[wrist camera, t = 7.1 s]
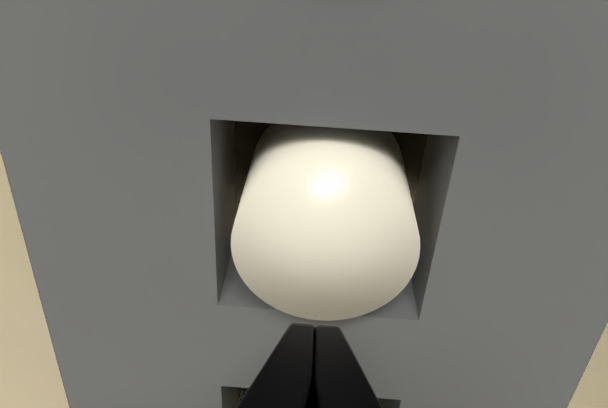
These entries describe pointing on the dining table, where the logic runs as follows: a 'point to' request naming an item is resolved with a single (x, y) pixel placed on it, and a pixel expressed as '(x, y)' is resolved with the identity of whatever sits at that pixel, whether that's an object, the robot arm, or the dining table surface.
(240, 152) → the dining table surface
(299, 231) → the cream button
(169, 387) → the console
